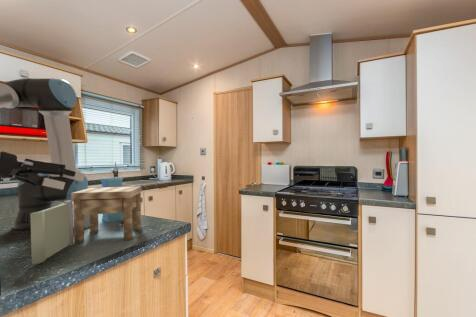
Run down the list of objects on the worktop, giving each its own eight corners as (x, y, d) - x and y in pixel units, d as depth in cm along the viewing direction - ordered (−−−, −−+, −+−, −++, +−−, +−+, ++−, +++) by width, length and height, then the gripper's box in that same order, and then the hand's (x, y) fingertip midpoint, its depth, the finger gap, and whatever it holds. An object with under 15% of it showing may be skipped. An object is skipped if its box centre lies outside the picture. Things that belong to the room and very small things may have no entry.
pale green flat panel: (66, 243, 82) (65, 200, 82) (75, 242, 82) (74, 200, 82) (28, 266, 65) (27, 212, 65) (40, 265, 65) (39, 212, 65)
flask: (84, 230, 98) (83, 206, 98) (70, 229, 100) (69, 205, 99) (97, 224, 105) (97, 202, 105) (84, 224, 107) (83, 202, 107)
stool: (72, 243, 83) (71, 193, 83) (92, 230, 97) (91, 187, 97) (131, 240, 85) (130, 191, 85) (142, 228, 99) (141, 186, 99)
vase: (100, 220, 113) (99, 179, 113) (117, 216, 119) (116, 177, 119) (108, 222, 108) (107, 179, 108) (124, 218, 115) (124, 178, 114)
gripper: (-27, 184, 71) (53, 198, 87) (5, 163, 59) (90, 184, 76) (-16, 162, 74) (59, 180, 91) (16, 138, 63) (95, 163, 79)
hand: (73, 182), depth 83 cm, fingers open, 13 cm apart
